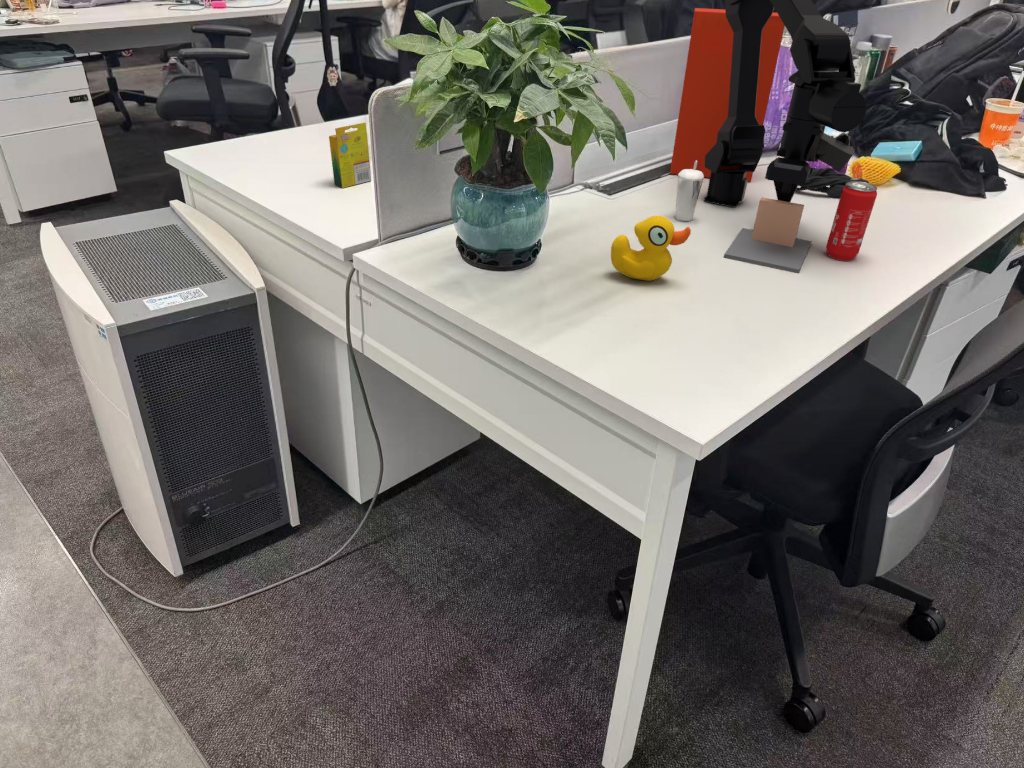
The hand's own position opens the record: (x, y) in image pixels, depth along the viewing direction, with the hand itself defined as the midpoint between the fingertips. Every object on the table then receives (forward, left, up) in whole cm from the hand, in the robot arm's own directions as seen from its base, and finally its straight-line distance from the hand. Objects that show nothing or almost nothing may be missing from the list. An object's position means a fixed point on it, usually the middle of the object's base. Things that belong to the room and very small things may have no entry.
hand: (783, 210), depth 124 cm
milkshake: (-17, +1, -5) cm, 18 cm away
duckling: (-15, -29, -5) cm, 33 cm away
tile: (0, -4, -5) cm, 6 cm away
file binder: (-20, +32, -5) cm, 38 cm away
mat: (0, -7, -5) cm, 8 cm away
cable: (+3, +35, -6) cm, 36 cm away
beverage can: (+11, -2, -5) cm, 12 cm away
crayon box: (-81, -16, -5) cm, 83 cm away
